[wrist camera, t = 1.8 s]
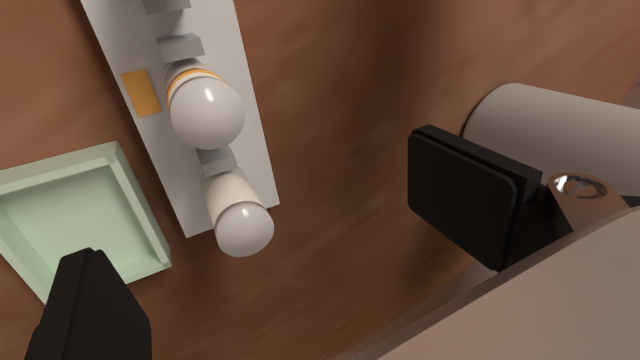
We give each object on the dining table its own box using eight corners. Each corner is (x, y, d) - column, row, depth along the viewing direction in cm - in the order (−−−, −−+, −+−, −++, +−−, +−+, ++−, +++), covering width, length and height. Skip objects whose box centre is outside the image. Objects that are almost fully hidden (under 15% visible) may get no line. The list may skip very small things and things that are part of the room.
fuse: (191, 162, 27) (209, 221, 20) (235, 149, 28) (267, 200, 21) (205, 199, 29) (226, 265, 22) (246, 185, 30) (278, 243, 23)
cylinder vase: (469, 186, 48) (698, 316, 28) (447, 124, 41) (740, 241, 21) (531, 132, 49) (796, 221, 29) (521, 61, 41) (870, 116, 22)
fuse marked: (153, 61, 23) (158, 89, 15) (207, 51, 24) (235, 72, 17) (172, 112, 25) (185, 158, 17) (221, 100, 26) (252, 138, 19)
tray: (-28, 177, 23) (-47, 198, 20) (117, 139, 26) (114, 154, 23) (59, 286, 29) (52, 312, 26) (169, 246, 31) (171, 266, 29)
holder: (19, -149, 18) (-26, -205, 13) (190, -151, 20) (205, -197, 16) (184, 226, 31) (191, 266, 26) (273, 194, 34) (294, 225, 29)
